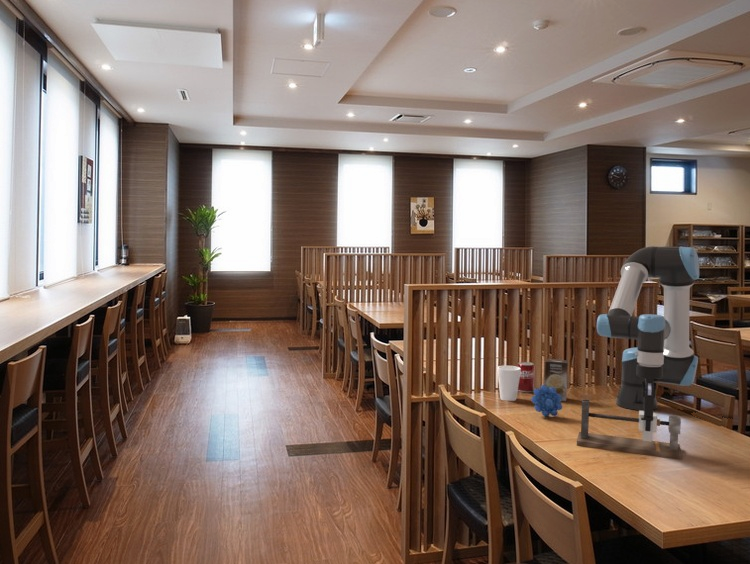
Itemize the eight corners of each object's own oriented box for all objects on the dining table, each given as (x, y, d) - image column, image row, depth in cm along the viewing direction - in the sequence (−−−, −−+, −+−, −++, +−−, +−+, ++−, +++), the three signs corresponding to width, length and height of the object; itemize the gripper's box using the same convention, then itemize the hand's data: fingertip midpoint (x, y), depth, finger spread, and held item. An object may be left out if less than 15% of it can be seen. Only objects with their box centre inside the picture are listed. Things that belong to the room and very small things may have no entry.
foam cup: (494, 396, 253) (494, 365, 252) (515, 395, 253) (516, 365, 253) (500, 402, 243) (501, 370, 242) (522, 401, 244) (523, 370, 243)
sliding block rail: (576, 445, 192) (578, 403, 191) (579, 436, 201) (580, 396, 200) (681, 459, 180) (683, 415, 179) (679, 448, 189) (681, 406, 188)
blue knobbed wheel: (534, 420, 219) (535, 387, 218) (529, 414, 226) (529, 383, 225) (565, 420, 219) (566, 387, 218) (559, 414, 226) (560, 383, 225)
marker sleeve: (638, 430, 187) (639, 414, 186) (638, 425, 191) (639, 410, 191) (656, 432, 185) (657, 416, 184) (655, 428, 189) (656, 412, 189)
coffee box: (543, 399, 248) (544, 361, 247) (544, 395, 254) (545, 358, 253) (566, 401, 245) (567, 362, 244) (566, 397, 251) (568, 359, 250)
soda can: (534, 393, 258) (535, 365, 258) (517, 392, 260) (517, 364, 259) (533, 389, 266) (534, 362, 265) (516, 388, 267) (517, 361, 266)
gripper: (636, 358, 196) (633, 428, 198) (637, 368, 180) (634, 445, 181) (661, 360, 194) (658, 431, 195) (664, 371, 177) (661, 448, 178)
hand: (646, 437), depth 188 cm, fingers closed on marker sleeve, 5 cm apart
